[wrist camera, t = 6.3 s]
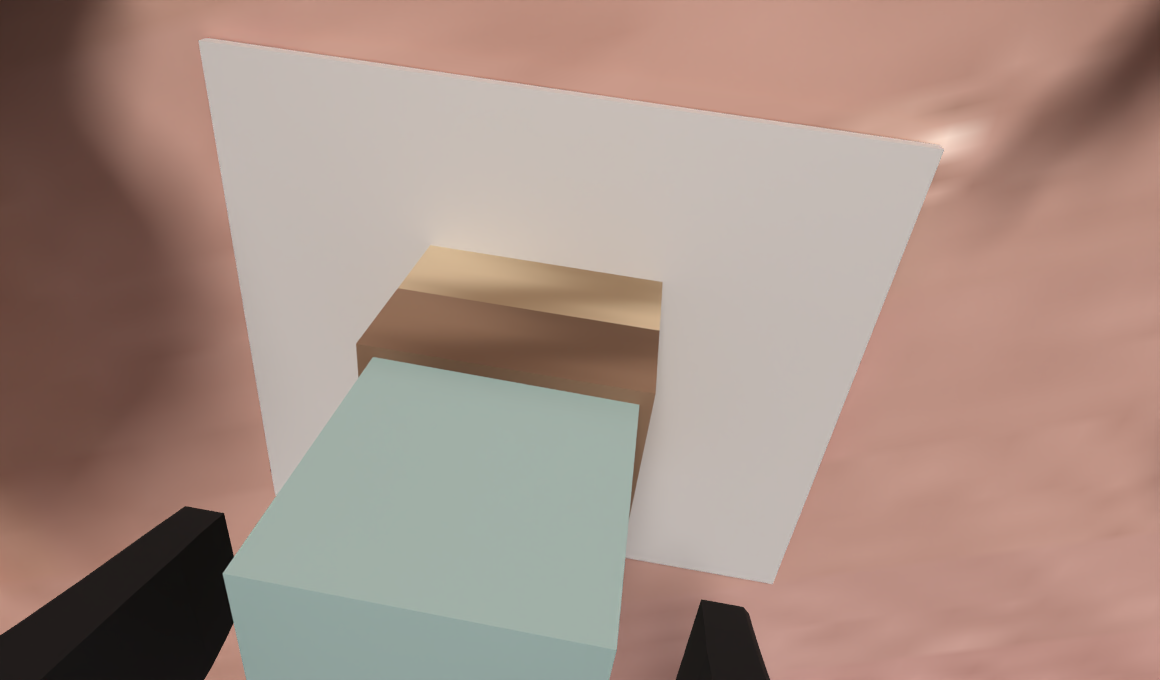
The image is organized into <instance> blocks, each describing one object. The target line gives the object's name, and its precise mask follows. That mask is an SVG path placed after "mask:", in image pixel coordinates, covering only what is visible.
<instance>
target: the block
mask: <svg viewBox="0 0 1160 680" xmlns="http://www.w3.org/2000/svg"><path fill="white" fill-rule="evenodd" d="M638 416H639V405H638V404H633V403H627V402H621V401H616V400H610V399H605V398H599V397H594V396H588V395H582V394H577V393H571V392H566V391H560V390H555V389H549V388H543V387H538V386H532V385H527V384H521V383H516V382H510V381H504V380H499V379H493V378H488V377H482V376H477V375H471V374H465V373H460V372H454V371H449V370H443V369H438V368H432V367H426V366H421V365H415V364H410V363H404V362H399V361H393V360H387V359H382V358H376V357H373V358H372V359H371V360H370V362H369V363H368V365H367V366H366V368H365V369H364V371H363V372H362V373H361V375H360V376H359V378H358V379H357V381H356V382H355V383H354V385H353V386H352V388H351V389H350V391H349V392H348V394H347V395H346V396H345V398H344V399H343V401H342V402H341V404H340V405H339V407H338V408H337V409H336V411H335V412H334V414H333V415H332V417H331V418H330V419H329V421H328V422H327V424H326V425H325V427H324V428H323V430H322V431H321V432H320V434H319V435H318V437H317V438H316V440H315V441H314V443H313V444H312V445H311V447H310V448H309V450H308V451H307V453H306V454H305V455H304V457H303V458H302V460H301V461H300V463H299V464H298V466H297V467H296V468H295V470H294V471H293V473H292V474H291V476H290V477H289V479H288V480H287V481H286V483H285V484H284V486H283V487H282V489H281V490H280V491H279V493H278V494H277V496H276V497H275V499H274V500H273V502H272V503H271V504H270V506H269V507H268V509H267V510H266V512H265V513H264V515H263V516H262V517H261V519H260V520H259V522H258V523H257V525H256V526H255V528H254V529H253V530H252V532H251V533H250V535H249V536H248V538H247V539H246V540H245V542H244V543H243V545H242V546H241V548H240V549H239V551H238V552H237V553H236V555H235V556H234V558H233V559H232V561H231V562H230V564H229V565H228V566H227V568H226V569H225V571H224V572H223V578H224V582H225V586H226V591H227V595H228V600H229V604H230V609H231V613H232V618H233V622H234V626H235V631H236V635H237V640H238V644H239V649H240V653H241V657H242V662H243V666H244V671H245V675H246V680H609V678H610V674H611V670H612V666H613V662H614V659H615V655H616V651H617V641H618V630H619V620H620V609H621V598H622V587H623V577H624V566H625V555H626V544H627V534H628V523H629V512H630V502H631V491H632V480H633V469H634V459H635V448H636V437H637V426H638Z"/></svg>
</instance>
